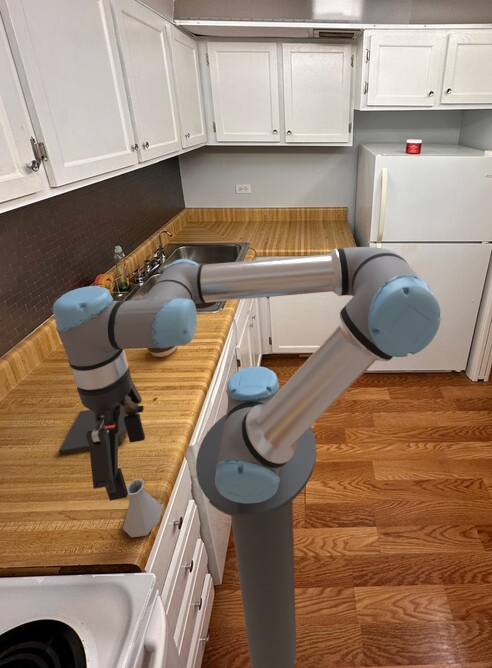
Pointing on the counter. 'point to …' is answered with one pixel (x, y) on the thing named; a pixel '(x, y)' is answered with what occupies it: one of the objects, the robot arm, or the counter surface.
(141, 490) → the flask
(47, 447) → the counter surface
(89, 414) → the scale
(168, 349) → the dark grey egg shape
